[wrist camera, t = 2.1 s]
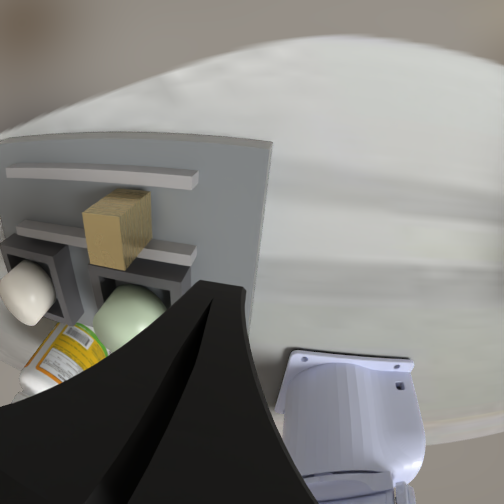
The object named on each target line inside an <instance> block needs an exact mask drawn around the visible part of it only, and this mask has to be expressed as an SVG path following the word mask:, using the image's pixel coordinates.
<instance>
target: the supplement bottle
mask: <svg viewBox="0 0 504 504" xmlns="http://www.w3.org/2000/svg"><path fill="white" fill-rule="evenodd" d="M109 353H110V350H108V349H107V348H106V347H105V346H104V345H103V344H102V343H101V342H100V340H99V339H98V337H97V336H96V334H95V331H94V329H93V327H90V326H87V325H84V324H81V323H76V324H75V325H74V327H72V326H69V325H66V324H63V323H60V322H58V323H57V324H56V326H55V327H54V328H53V329H52V331H51V332H50V333H49V335H48V336H47V337H46V339H45V340H44V341H43V343H42V344H41V345H40V347H39V348H38V349H37V351H36V352H35V353H34V355H33V356H32V357H31V359H30V360H29V361H28V363H27V364H26V366H25V367H24V368H23V370H22V372H21V374H20V378H19V380H20V385H21V387H22V389H23V391H22V392H18V394H17V395H16V396H15V398H14V399H13V401H12V403H14V402H17V401H20V400H23V399H25V398H28V397H31V396H33V395H35V394H38V393H40V392H42V391H45V390H47V389H49V388H51V387H54V386H56V385H58V384H60V383H62V382H64V381H66V380H68V379H70V378H72V377H73V376H75V375H77V374H79V373H81V372H82V371H84V370H86V369H88V368H89V367H91V366H93V365H95V364H96V363H98V362H99V361H101V360H102V359H104V358H106V357H107V356H109ZM12 403H11V404H12Z"/></svg>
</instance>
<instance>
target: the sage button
mask: <svg viewBox="0 0 504 504" xmlns="http://www.w3.org/2000/svg"><path fill="white" fill-rule="evenodd" d="M166 310H167V309H166V307H165V305H164V304H163V302H162V301H161V300H160V299H159V298H158V297H157V296H156V295H155V294H154V293H152V292H151V291H149V290H148V289H146V288H144V287H141V286H139V285H135V284H123V285H120V286H118V287H117V288H116V289H115V290H114V291H113V292H112V293H111V295H110V296H109V297H108V299H107V300H106V301H105V303H104V304H103V305H102V307H101V308H100V309H99V311H98V312H97V313H96V315H95V316H94V318H93V329H94V331H95V334H96V336H97V337H98V339H99V340H100V342H101V343H102V344H103V345H104V346H105V347H106V348H107V349H108V350H110V351H111V352H112V353H113V352H115V351H116V350H117V349H119V348H120V347H122V346H123V345H124V344H126V343H127V342H128V341H130V340H131V339H132V338H134V337H135V336H136V335H137V334H139V333H140V332H141V331H142V330H144V329H145V328H146V327H148V326H149V325H150V324H151V323H152V322H154V321H155V320H156V319H157V318H158V317H159V316H160V315H162V314H163V313H164V312H165V311H166Z"/></svg>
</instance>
